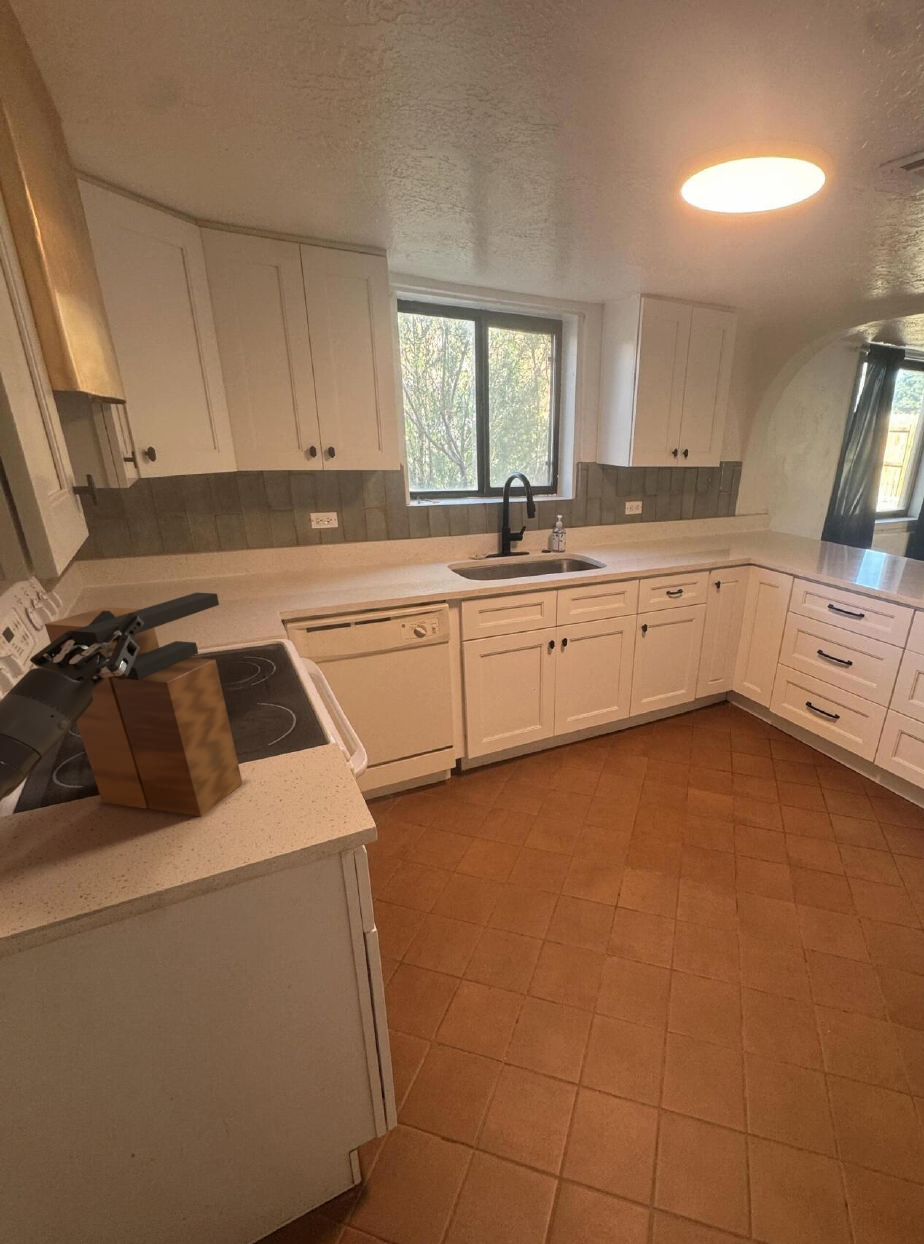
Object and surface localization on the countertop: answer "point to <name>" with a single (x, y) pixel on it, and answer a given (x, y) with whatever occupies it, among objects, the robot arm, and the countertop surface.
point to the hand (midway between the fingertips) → (124, 616)
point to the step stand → (158, 731)
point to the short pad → (161, 658)
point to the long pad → (148, 617)
